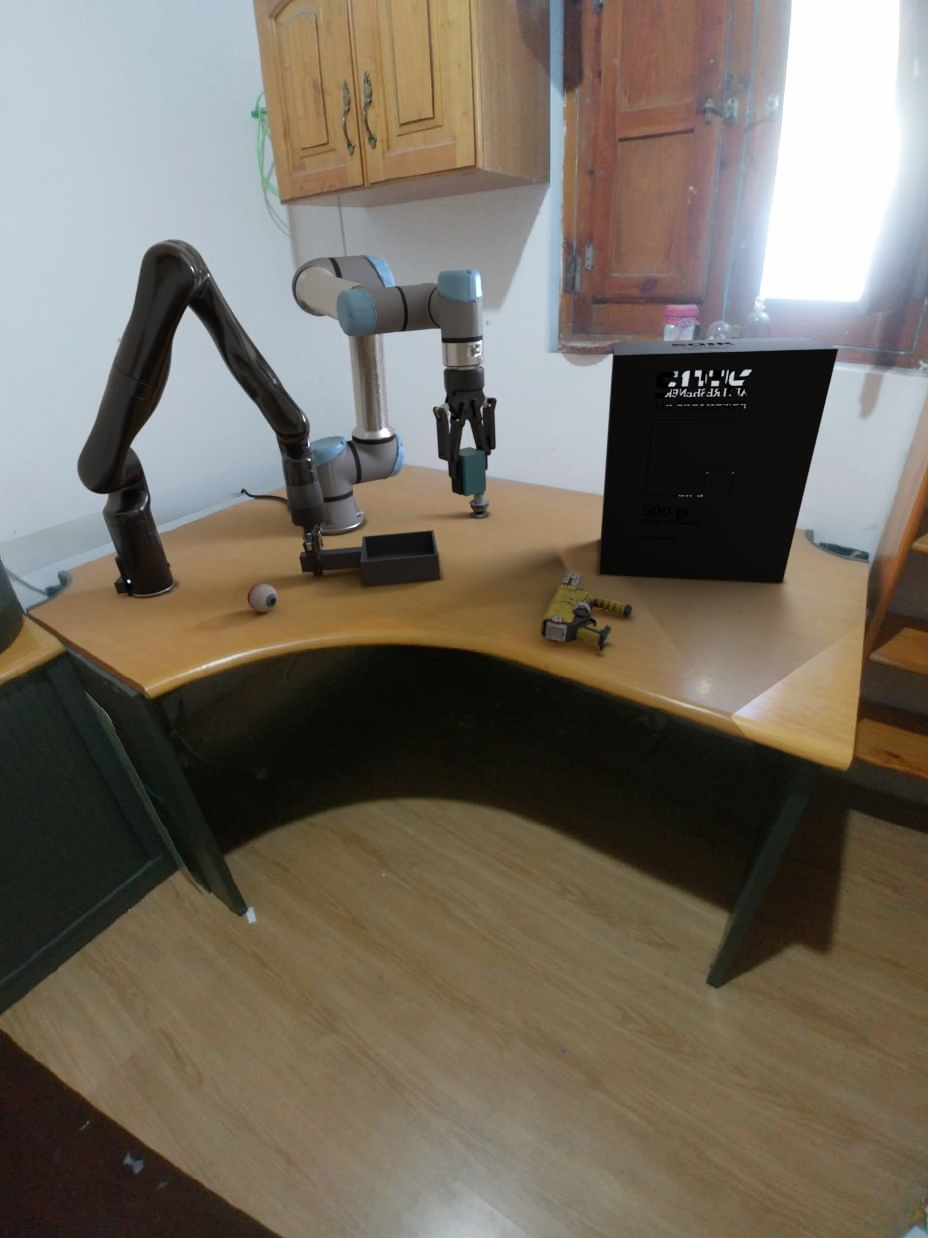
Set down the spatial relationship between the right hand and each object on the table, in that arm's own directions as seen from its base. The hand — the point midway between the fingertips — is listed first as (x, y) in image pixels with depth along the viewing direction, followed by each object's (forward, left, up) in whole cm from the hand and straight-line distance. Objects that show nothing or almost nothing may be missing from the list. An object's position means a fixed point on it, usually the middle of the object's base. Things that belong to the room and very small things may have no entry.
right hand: (469, 489), depth 122 cm
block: (0, 0, 0) cm, 0 cm away
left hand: (-28, -24, -21) cm, 42 cm away
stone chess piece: (-34, +28, -22) cm, 49 cm away
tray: (-22, -14, -22) cm, 34 cm away
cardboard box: (+22, +44, -22) cm, 54 cm away
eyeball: (-20, -40, -22) cm, 50 cm away
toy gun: (+27, +8, -22) cm, 36 cm away
